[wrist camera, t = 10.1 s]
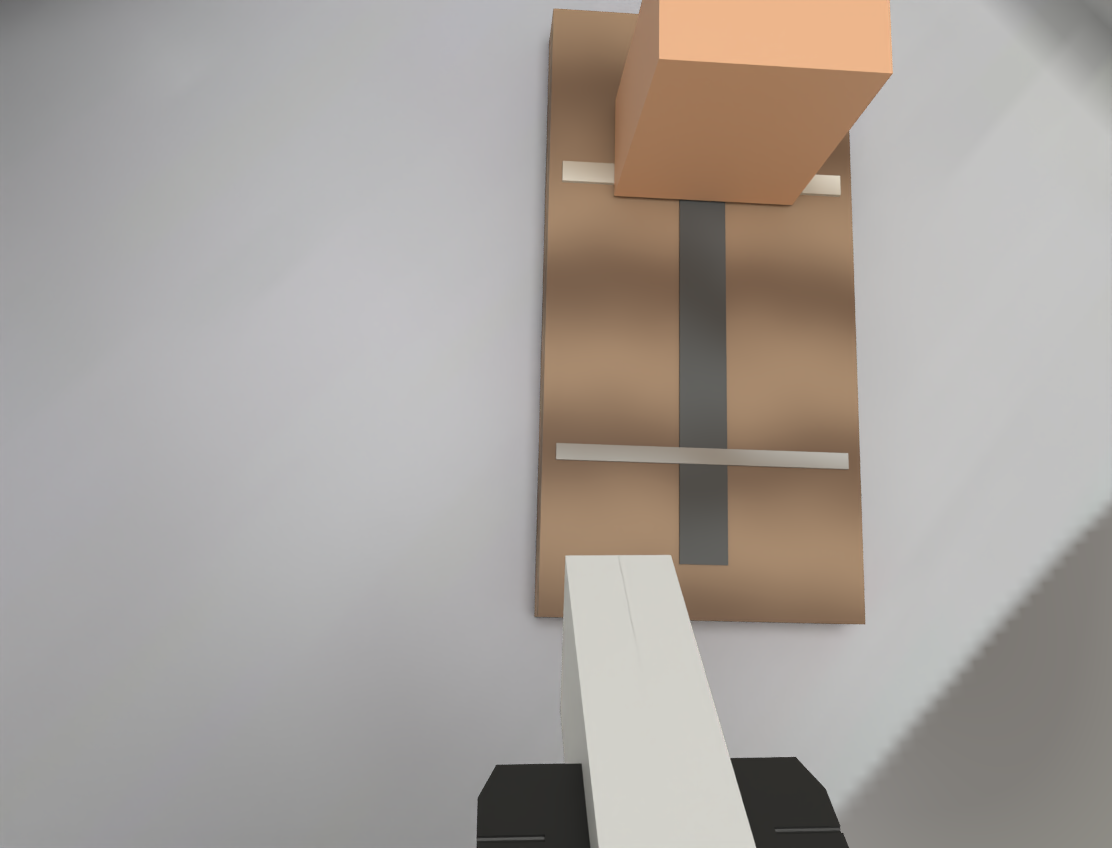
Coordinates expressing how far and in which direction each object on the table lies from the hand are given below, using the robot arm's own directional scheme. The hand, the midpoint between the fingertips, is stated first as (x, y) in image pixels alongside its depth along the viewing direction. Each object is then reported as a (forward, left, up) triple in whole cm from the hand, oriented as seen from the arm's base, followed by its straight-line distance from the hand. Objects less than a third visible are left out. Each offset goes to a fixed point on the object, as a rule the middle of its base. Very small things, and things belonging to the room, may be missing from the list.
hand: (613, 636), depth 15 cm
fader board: (-10, +10, -25) cm, 29 cm away
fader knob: (-15, +12, -22) cm, 30 cm away
